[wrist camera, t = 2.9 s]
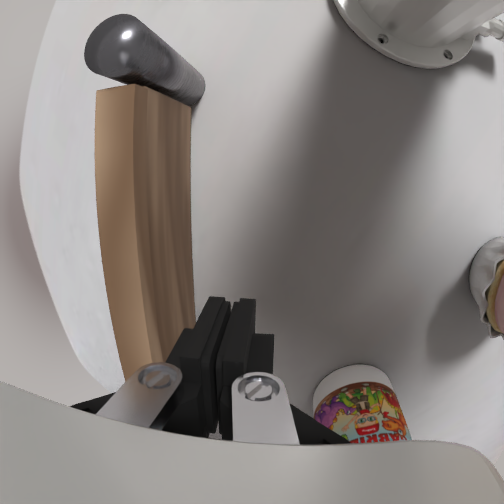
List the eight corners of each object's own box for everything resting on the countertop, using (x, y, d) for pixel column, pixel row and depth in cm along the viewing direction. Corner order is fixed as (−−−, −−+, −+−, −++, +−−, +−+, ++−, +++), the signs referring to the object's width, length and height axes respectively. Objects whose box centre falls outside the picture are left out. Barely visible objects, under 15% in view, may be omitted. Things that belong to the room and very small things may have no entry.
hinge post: (205, 67, 20) (146, 7, 10) (204, 105, 21) (140, 68, 10) (167, 71, 20) (88, 23, 10) (165, 107, 21) (81, 80, 11)
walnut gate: (196, 107, 20) (139, 78, 11) (202, 350, 26) (169, 430, 17) (164, 109, 20) (93, 87, 11) (175, 347, 26) (135, 423, 17)
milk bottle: (395, 402, 27) (445, 572, 8) (325, 427, 29) (336, 602, 10) (380, 349, 25) (451, 557, 6) (300, 379, 27) (301, 594, 8)
